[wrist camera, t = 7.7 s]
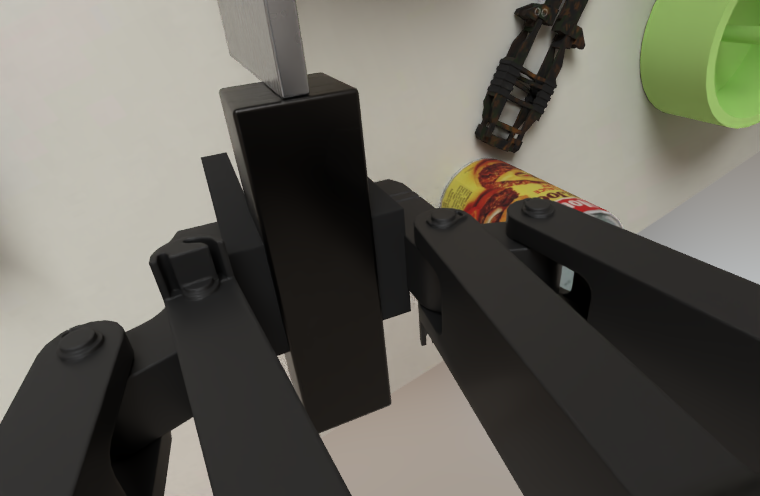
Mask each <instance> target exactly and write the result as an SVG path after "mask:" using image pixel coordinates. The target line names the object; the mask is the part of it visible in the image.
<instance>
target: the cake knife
mask: <svg viewBox="0 0 760 496" xmlns="http://www.w3.org/2000/svg"><path fill="white" fill-rule="evenodd" d="M217 1H218V6H219V10H220V14H221V19H222V23H223V27H224V32H225V36H226V40H227V45H228V49H229V53H230V56H231V57H233V58H234V59H235V60H236V61H238V62H239V63H240V64H241V65H242V66H244V67H245V68H246V69H247V70H248V71H250V72H251V73H252V74H253V75H255V76H256V77H257V78H258V79H259V80H261V81H262V82H258V83H252V84H246V85H240V86H233V87H227V88H222V89H220V91H219V95H220V99H221V103H222V107H223V111H224V115H225V119H226V123H227V127H228V131H229V135H230V139H231V143H232V147H233V151H234V155H235V159H236V163H237V167H238V171H239V175H240V179H241V182H242V186H243V190H244V194H245V198H246V202H247V206H248V209H249V212H250V214H251V216H252V219H253V221H254V223H255V226H256V228H257V230H258V233H259V235H260V237H261V240H262V242H263V244H264V248H265V252H266V256H267V260H268V264H269V268H270V273H271V277H272V281H273V285H274V289H275V293H276V297H277V301H278V305H279V310H280V314H281V318H282V322H283V326H284V330H285V334H286V338H287V342H288V347H289V351H290V352H287V353H284V354H285V358H286V362H287V365H288V369H289V373H290V377H291V381H292V383H293V386H294V389H295V391H296V393H297V395H298V396H299V398H300V400H301V402H302V404H303V406H304V408H305V410H306V411H307V413H308V415H309V417H310V419H311V421H312V423H313V425H314V426H315V428H316V430H317V432H318V434H319V433H321V432H324V431H326V430H329V429H331V428H334V427H336V426H339V425H341V424H344V423H346V422H349V421H352V420H354V419H357V418H359V417H361V416H364V415H367V414H369V413H372V412H374V411H377V410H379V409H382V408H384V407H387V406H389V405H391V395H390V385H389V376H388V366H387V357H386V348H385V338H384V329H383V319H382V310H381V300H380V291H379V281H378V272H377V263H376V253H375V244H374V234H373V225H372V215H371V206H370V197H369V187H368V178H367V168H366V159H365V149H364V140H363V130H362V121H361V112H360V102H359V93H358V90H357V89H356V88H354V87H352V86H350V85H348V84H345V83H343V82H341V81H339V80H337V79H335V78H333V77H330V76H328V75H326V74H324V73H314V74H308V75H307V70H306V64H305V57H304V51H303V45H302V38H301V32H300V25H299V19H298V13H297V6H296V0H217Z"/></svg>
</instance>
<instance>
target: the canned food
mask: <svg viewBox="0 0 760 496" xmlns="http://www.w3.org/2000/svg"><path fill="white" fill-rule="evenodd" d="M532 197H539V198H541V199H549V200H552V201H555V202H559V203H561V204H564V205H566V206H569V207H571V208H573V209H576V210H578V211H581V212H583V213H586V214H588V215H591V216H593V217H595V218H598V219H600V220H603V221H605V222H608V223H610V224H612V225H615V226H617V227H620V228H622V229H624V227H623V225H622V223H621V221H620V219H618V218H617V217H616V216H615V215H613V214H612V213H610V212H608V211H606V210H604V209H602V208H600V207H598V206H596V205H594V204H592V203H589V202H587V201H585V200H583V199H581V198H579V197H577V196H575V195H573V194H571V193H569V192H566V191H564V190H562V189H560V188H558V187H556V186H554V185H552V184H550V183H548V182H545V181H543V180H541V179H539V178H537V177H535V176H533V175H531V174H529V173H527V172H524V171H522V170H520V169H518V168H516V167H514V166H512V165H510V164H508V163H506V162H503V161H501V160H498V159H494V158H482V159H479V160H476V161H473V162H471V163H469V164H467V165H466V166H464V167H463V168H461V169H460V170H459V171H458V172H457V173H456V174H455V175H454V176H453V177H452V179H451V180H450V182H449V183H448V185H447V186H446V188H445V190H444V193H443V196H442V198H441V203H440V208H455V209H460V210H463V211H465V212H467V213H468V214H470V215H471V216H472V217H473V218H475V219H476V220H477V221H478V222H479V223H480V224H485V223H495V222H505V221H506V212H507V208H508V206H509V205H510V204H512V203H513V202H515V201H518V200H523V199H525V198H532ZM573 276H574V271H572V270H570V269H568V268H566V267H565V266H562V273H561V281H560V287H562V288H564V289H566V290H569V291H571V288H572V283H573Z"/></svg>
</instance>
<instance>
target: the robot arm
mask: <svg viewBox="0 0 760 496" xmlns="http://www.w3.org/2000/svg"><path fill="white" fill-rule="evenodd" d="M201 160H202V164H203V168H204V171H205V175H206V179H207V183H208V187H209V191H210V195H211V198H212V202H213V206H214V210H215V214H216V218H217V222H214V223H210V224H206V225H202V226H198V227H194V228H190V229H185V230H181V231H178V232H177V233H176V234H175V236H174V237H173V238H172V240H171V241H170V242H169V243H167V244H165V245H164V246H162V247H160V248H159V249H157V250H156V251H155V252H154V253H153V254H152V255H151V257H150V261H149V265H150V267H151V270H152V272H153V275H154V277H155V280H156V282H157V285H158V287H159V290H160V292H161V295H162V298H163V300H164V303H165V308H164V309H163V310H162V311H161V312H160V313H159V314H158V315H156V316H155V317H154V318H152V319H151V320H149V321H147V322H145V323H143V324H142V325H140V326H137V327H135V328H133V329H131V330H129V331H127V332H125V331H124V329H123V327H122V326H120V325H119V324H118V323H117V322H112V321H107V320H104V321H95V322H89V323H86V324H83V325H78V326H75V327H73V328H70V330H66V331H65V332H63V333H61V334H60V335H58V336H57V337H56V338H54V339H53V340H52V341H50V342H49V343H48V344H46V345H45V347H44V348H43V349H42V350H41V351H40V353H39V354H38V355H37V357H36V359H35V361H34V362H33V364H32V366H31V368H30V370H29V372H28V374H27V375H26V377H25V379H24V381H23V383H22V385H21V387H20V388H19V390H18V392H17V394H16V396H15V398H14V400H13V401H12V403H11V405H10V407H9V409H8V411H7V413H6V414H5V416H4V418H3V420H2V422H1V424H0V496H164V491H165V484H166V477H167V470H168V463H169V455H170V448H171V441H172V438H171V430H173V429H174V428H176V427H178V426H179V425H181V424H182V423H184V422H186V421H187V420H189V419H190V418H192V417H194V421H195V425H196V429H197V433H198V437H199V441H200V445H201V449H202V453H203V457H204V460H205V464H206V468H207V472H208V476H209V480H210V484H211V488H212V492H213V496H352V495H351V494H350V492H349V490H348V488H347V486H346V484H345V483H344V481H343V479H342V477H341V475H340V473H339V471H338V469H337V467H336V466H335V464H334V462H333V460H332V458H331V456H330V455H329V453H328V451H327V449H326V447H325V445H324V443H323V441H322V439H321V438H320V436H319V434H318V432H317V430H316V428H315V426H314V425H313V423H312V421H311V419H310V417H309V415H308V413H307V411H306V410H305V408H304V406H303V404H302V402H301V400H300V398H299V396H298V395H297V393H296V391H295V389H294V387H293V385H292V383H291V382H290V380H289V378H288V376H287V374H286V372H285V370H284V368H283V367H282V365H281V363H280V361H279V359H278V357H277V356H278V355H281V354H284V353H287V352H290V351H289V347H288V342H287V338H286V334H285V330H284V326H283V322H282V318H281V314H280V310H279V305H278V301H277V297H276V293H275V289H274V285H273V281H272V277H271V273H270V268H269V264H268V260H267V256H266V252H265V248H264V244H263V242H262V240H261V237H260V235H259V233H258V230H257V228H256V226H255V223H254V221H253V219H252V216H251V214H250V212H249V209H248V206H247V202H246V198H245V194H244V192H243V190H242V188H241V185H240V183H239V181H238V178H237V176H236V174H235V171H234V169H233V167H232V164H231V162H230V160H229V157H228V155H227V153H221V154H216V155H211V156H206V157H201ZM367 178H368V177H367ZM368 187H369V197H370V206H371V215H372V225H373V234H374V244H375V253H376V263H377V272H378V281H379V291H380V300H381V310H382V319H383V320H385V319H388V318H391V317H394V316H397V315H400V314H403V313H406V312H409V311H411V306H410V292H411V293H412V294H413V295H414V297H415V298H416V299H417V300H418V309H419V326H420V340H421V345H422V346H424V345H426V335H427V334H429V336H430V338H431V339H432V343H434V345H435V346H436V348H437V350H438V351H439V353H440V355H441V356H442V358H443V360H444V361H445V363H446V365H447V366H448V368H449V370H450V371H451V373H452V375H453V377H454V378H455V380H456V382H457V383H458V385H459V387H460V389H461V390H462V392H463V394H464V395H465V397H466V399H467V400H468V402H469V404H470V405H471V407H472V409H473V410H474V412H475V414H476V416H477V417H478V419H479V421H480V422H481V424H482V426H483V427H484V429H485V431H486V432H487V434H488V436H489V438H490V439H491V441H492V443H493V444H494V446H495V447H496V449H497V451H498V453H499V454H500V456H501V458H502V459H503V461H504V463H505V465H506V466H507V468H508V470H509V471H510V473H511V475H512V476H513V478H514V480H515V481H516V483H517V485H518V487H519V488H520V490H521V492H522V493H523V495H524V496H760V285H759V284H756V283H754V282H751V281H749V280H747V279H744V278H742V277H739V276H737V275H734V274H732V273H730V272H727V271H725V270H722V269H720V268H717V267H715V266H712V265H710V264H707V263H705V262H703V261H700V260H698V259H695V258H693V257H690V256H688V255H686V254H683V253H681V252H678V251H676V250H673V249H671V248H668V247H666V246H664V245H661V244H659V243H656V242H654V241H652V240H649V239H647V238H644V237H642V236H639V235H637V234H634V233H632V232H630V231H627V230H625V229H622V228H620V227H617V226H615V225H612V224H610V223H608V222H605V221H603V220H600V219H598V218H595V217H593V216H591V215H588V214H586V213H583V212H581V211H578V210H576V209H573V208H571V207H569V206H566V205H564V204H561V203H559V202H555V201H552V200H549V199H541V198H539V197H532V198H525V199H523V200H518V201H515V202H513V203H512V204H510V205H509V206H508V208H507V212H506V221H505V222H495V223H485V224H480V223H479V222H478V221H477V220H476V219H475V218H473V217H472V216H471V215H470V214H468V213H467V212H465V211H463V210H460V209H455V208H434V207H433V206H432V205H430V204H429V203H428V202H427V201H425V200H424V199H423V198H421V197H419V195H417V194H416V193H415V192H412V190H411V189H410V188H408V187H407V186H406V185H404V184H403V183H400V182H397V181H393V180H390V179H387V180H383V181H379V182H375V183H374V182H373V181H372V180H371V179H369V178H368ZM562 266H565V267H566V268H568V269H570V270H572V271H574V276H573V283H572V288H571V291H569V290H566V289H564V288H562V287H560V281H561V273H562Z"/></svg>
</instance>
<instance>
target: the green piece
mask: <svg viewBox="0 0 760 496" xmlns="http://www.w3.org/2000/svg"><path fill="white" fill-rule="evenodd" d="M640 71H641V80H642V84H643V89H644V91H645V93H646V95H647V98H648V100H649V101H650V102H651V103H652V104H653V105H654V107H655V108H657V109H659V110H660V111H662V112H664V113H668V114H673V115H677V116H681V117H686V118H690V119H694V120H699V121H703V122H707V123H712V124H716V125H721V126H725V127H730V128H736V129H738V128H745V127H749V126H751V125H754V124H756V123H759V122H760V0H656V2H655V4H654V6H653V9H652V11H651V14H650V17H649V19H648V22H647V25H646V29H645V33H644V37H643V41H642V48H641V57H640Z"/></svg>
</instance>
